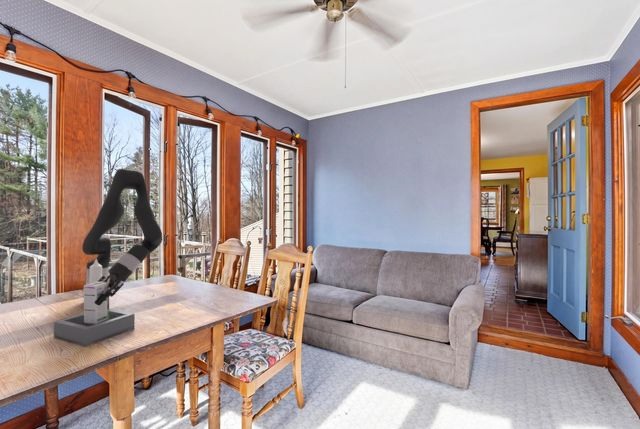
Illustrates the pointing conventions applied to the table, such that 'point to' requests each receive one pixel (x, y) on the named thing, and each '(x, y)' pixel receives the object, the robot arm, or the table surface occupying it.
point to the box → (93, 328)
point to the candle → (95, 272)
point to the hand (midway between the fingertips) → (91, 302)
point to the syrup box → (92, 310)
